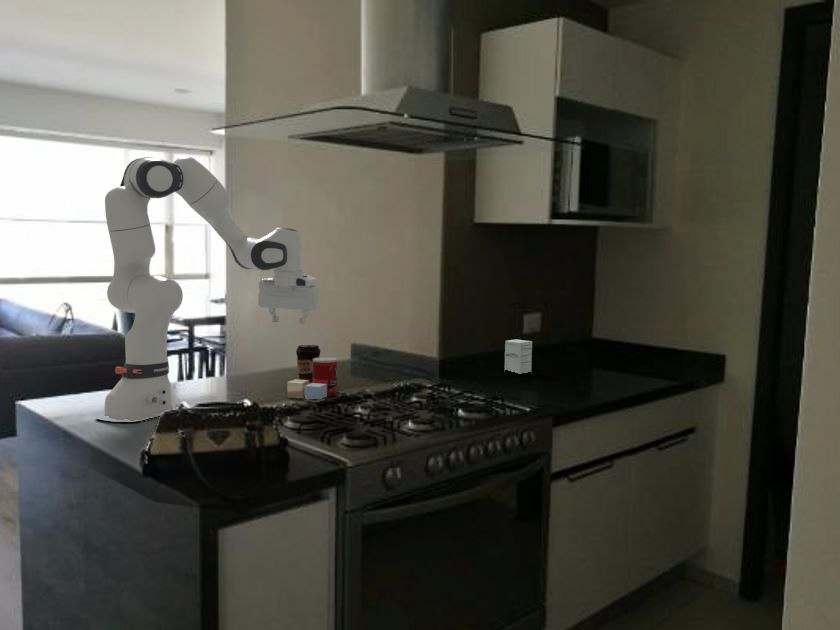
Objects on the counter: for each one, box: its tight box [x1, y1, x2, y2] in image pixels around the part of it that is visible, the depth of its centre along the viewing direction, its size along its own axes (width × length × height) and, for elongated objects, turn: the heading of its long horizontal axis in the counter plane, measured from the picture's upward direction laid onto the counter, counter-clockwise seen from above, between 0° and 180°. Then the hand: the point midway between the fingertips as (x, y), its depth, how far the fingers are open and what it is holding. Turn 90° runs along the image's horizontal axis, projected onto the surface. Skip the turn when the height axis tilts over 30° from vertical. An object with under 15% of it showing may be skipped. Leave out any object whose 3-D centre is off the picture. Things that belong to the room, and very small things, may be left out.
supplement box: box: [504, 338, 533, 374], centre depth 280 cm, size 7×7×13 cm
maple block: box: [286, 378, 310, 399], centre depth 237 cm, size 5×5×5 cm
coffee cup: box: [295, 344, 321, 384], centre depth 261 cm, size 9×8×13 cm
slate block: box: [304, 383, 328, 400], centre depth 231 cm, size 5×5×5 cm
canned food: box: [313, 356, 338, 395], centre depth 244 cm, size 8×8×11 cm
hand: (289, 322), depth 238 cm, fingers open, 8 cm apart
